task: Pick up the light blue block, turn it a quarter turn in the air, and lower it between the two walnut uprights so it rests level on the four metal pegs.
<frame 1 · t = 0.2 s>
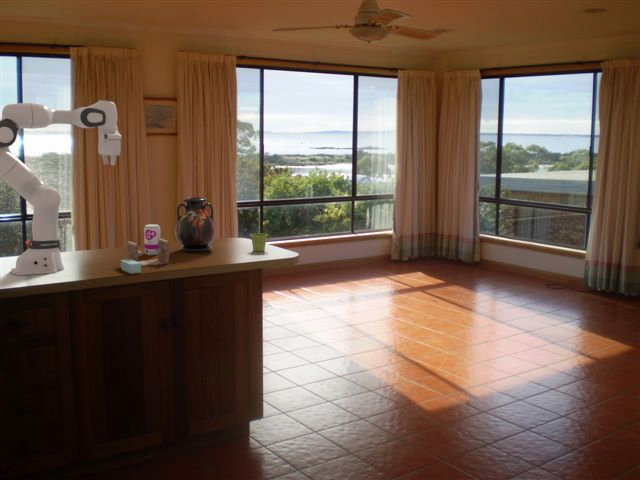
hand: (109, 164, 328), 47 cm above the table, tool pointing down, fingers open, 8 cm apart
light blue block: (130, 271, 318), on the table
plant pot: (259, 251, 372), on the table
supplement can: (153, 254, 360), on the table
peg frame: (148, 263, 334), on the table
amphora vase: (195, 250, 371), on the table
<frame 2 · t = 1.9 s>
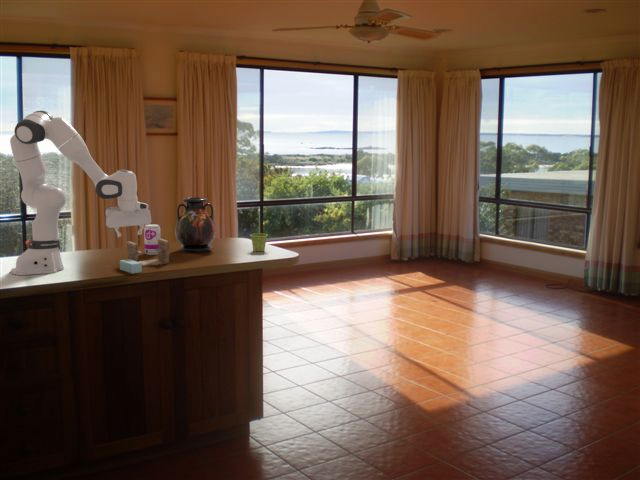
hand: (129, 235, 315), 16 cm above the table, tool pointing down, fingers open, 8 cm apart
nothing on the table moved.
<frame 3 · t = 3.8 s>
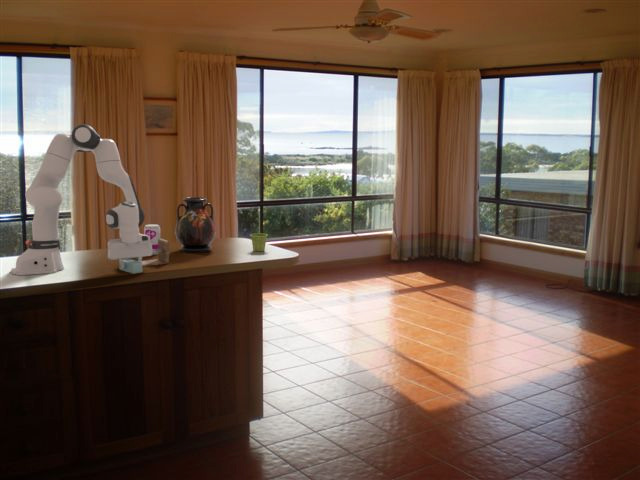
hand: (130, 267, 318), 2 cm above the table, tool pointing down, fingers closed on light blue block, 5 cm apart
light blue block: (130, 271, 318), on the table, touching gripper
everything else where it was.
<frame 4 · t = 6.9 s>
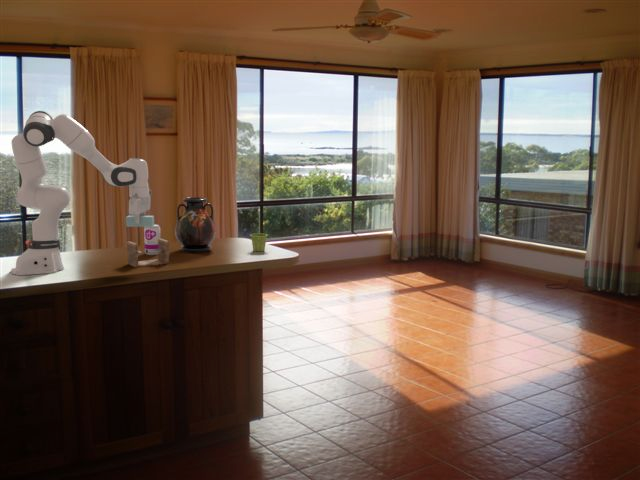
hand: (140, 222, 323), 21 cm above the table, tool pointing down, fingers closed on light blue block, 5 cm apart
light blue block: (140, 225, 324), point 20 cm above the table, touching gripper
everything else where it was.
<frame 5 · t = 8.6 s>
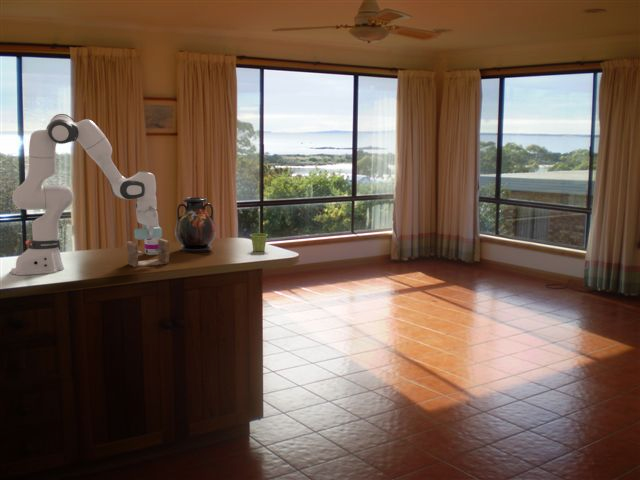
hand: (148, 234, 330), 15 cm above the table, tool pointing down, fingers closed on light blue block, 5 cm apart
light blue block: (148, 237, 331), point 13 cm above the table, touching gripper
everything else where it was.
when the fingers open (9 cm above the table, at t = 10.1 s): light blue block stays where it is, resting on peg frame.
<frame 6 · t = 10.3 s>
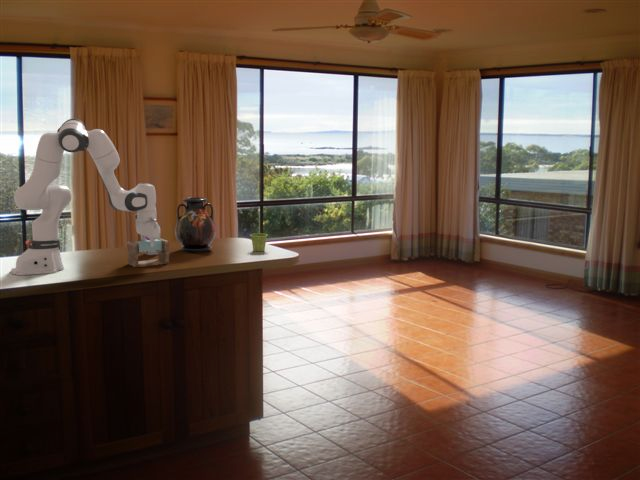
hand: (148, 245, 333), 9 cm above the table, tool pointing down, fingers open, 7 cm apart
light blue block: (148, 250, 333), point 7 cm above the table, touching peg frame
everything else where it was.
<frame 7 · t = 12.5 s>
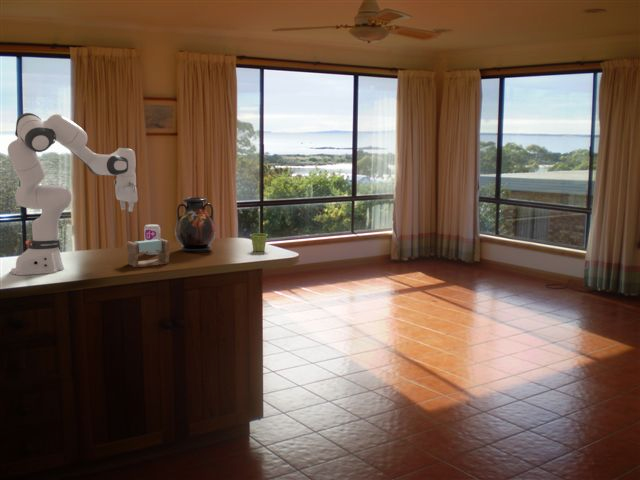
hand: (126, 210, 333), 25 cm above the table, tool pointing down, fingers open, 8 cm apart
nothing on the table moved.
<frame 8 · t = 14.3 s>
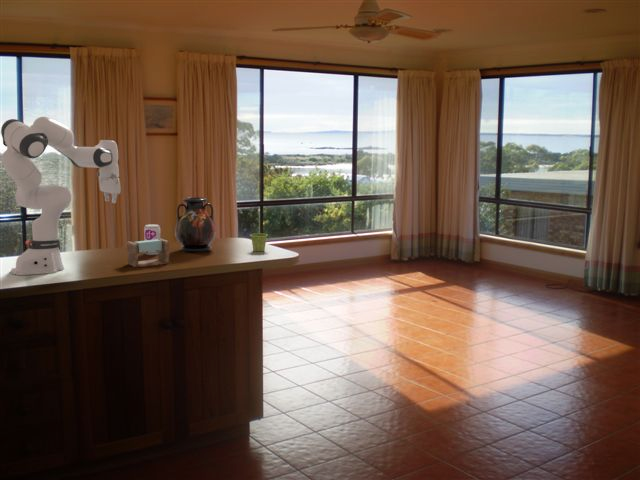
hand: (110, 202, 335), 29 cm above the table, tool pointing down, fingers open, 8 cm apart
nothing on the table moved.
at the end: light blue block 0.0 cm off-centre on the peg frame, point 6.6 cm above the peg frame's base; light blue block tilted 0°; the gripper is holding nothing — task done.
